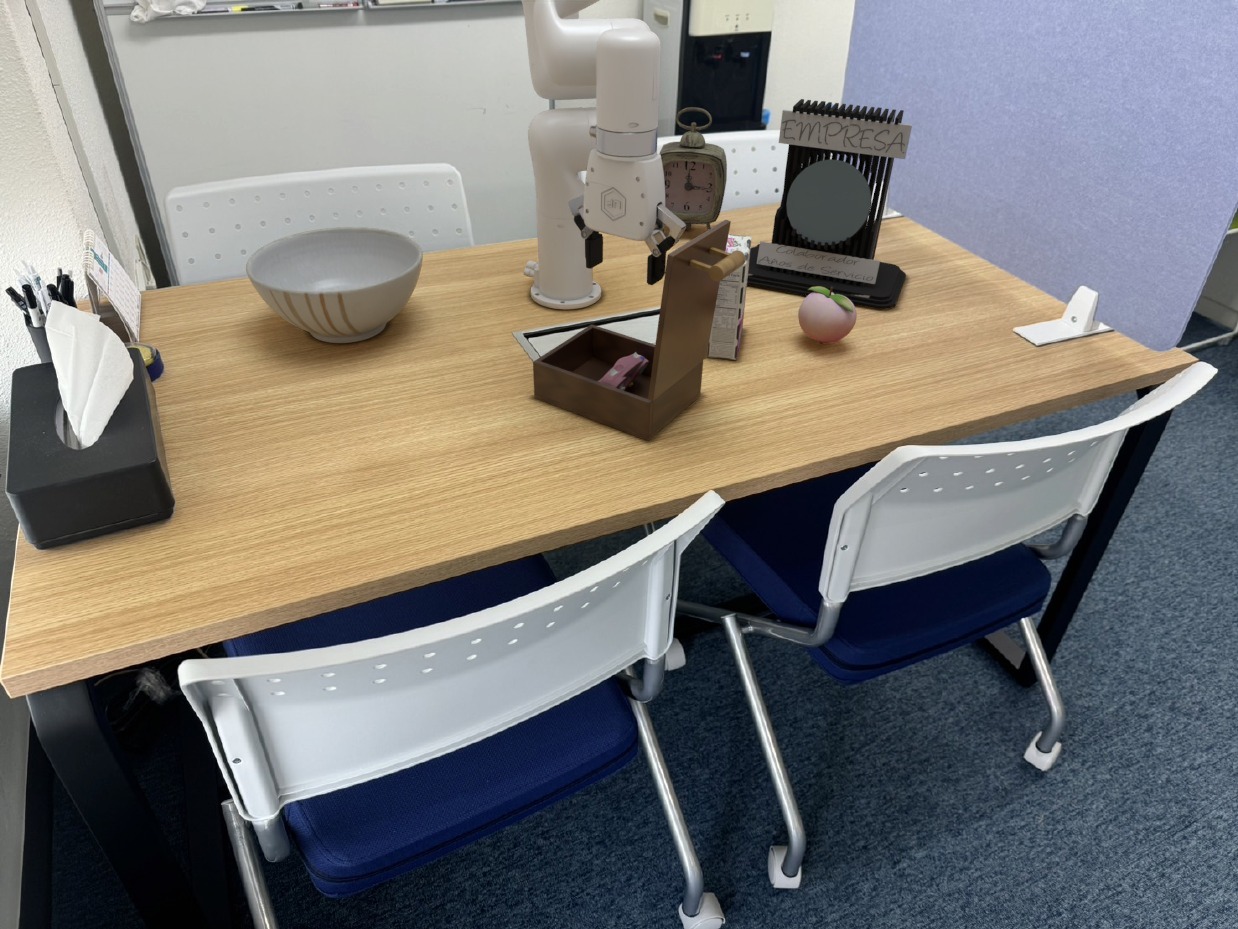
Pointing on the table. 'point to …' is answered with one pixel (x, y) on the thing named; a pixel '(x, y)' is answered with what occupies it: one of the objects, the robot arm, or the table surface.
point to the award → (833, 205)
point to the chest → (575, 385)
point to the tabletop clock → (694, 175)
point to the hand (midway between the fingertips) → (624, 273)
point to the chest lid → (690, 305)
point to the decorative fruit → (826, 315)
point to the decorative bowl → (337, 280)
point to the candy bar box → (730, 305)
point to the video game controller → (625, 371)
